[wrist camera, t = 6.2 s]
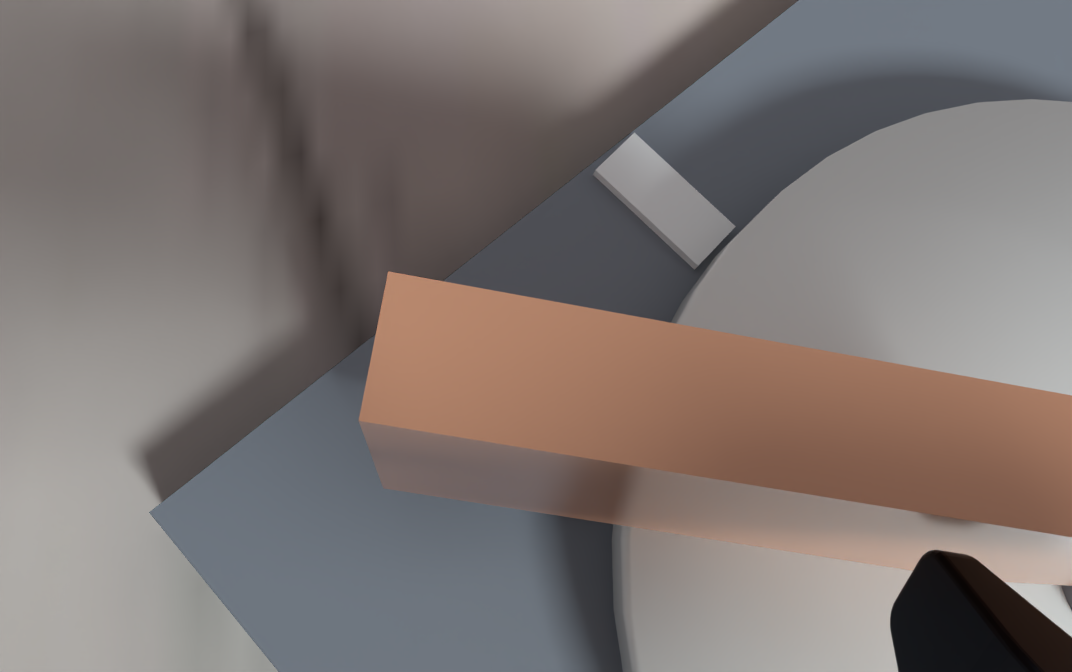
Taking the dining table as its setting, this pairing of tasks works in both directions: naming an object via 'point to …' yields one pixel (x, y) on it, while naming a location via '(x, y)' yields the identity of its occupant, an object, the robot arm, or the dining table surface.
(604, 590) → the board
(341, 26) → the dining table surface
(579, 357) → the dial
